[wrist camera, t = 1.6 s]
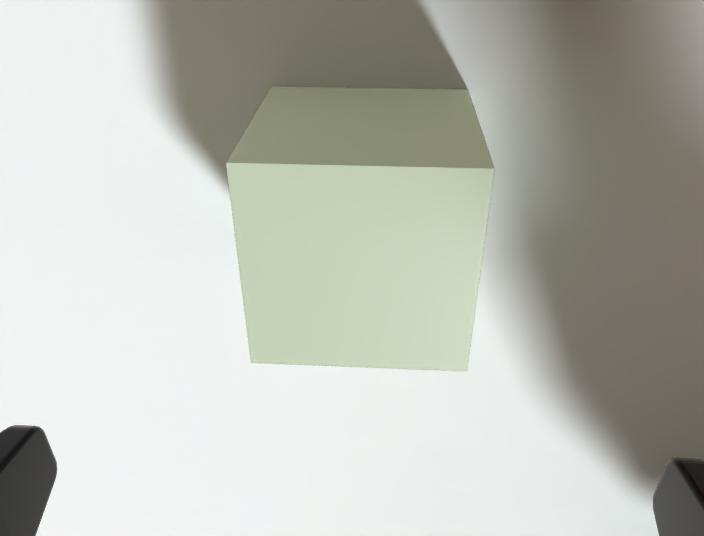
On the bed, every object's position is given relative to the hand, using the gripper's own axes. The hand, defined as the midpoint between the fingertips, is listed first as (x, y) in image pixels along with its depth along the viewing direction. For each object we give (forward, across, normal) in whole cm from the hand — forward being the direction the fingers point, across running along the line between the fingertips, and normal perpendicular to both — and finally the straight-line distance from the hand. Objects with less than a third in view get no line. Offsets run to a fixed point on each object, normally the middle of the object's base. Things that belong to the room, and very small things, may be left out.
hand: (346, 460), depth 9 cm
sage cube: (+10, 0, 0) cm, 10 cm away
